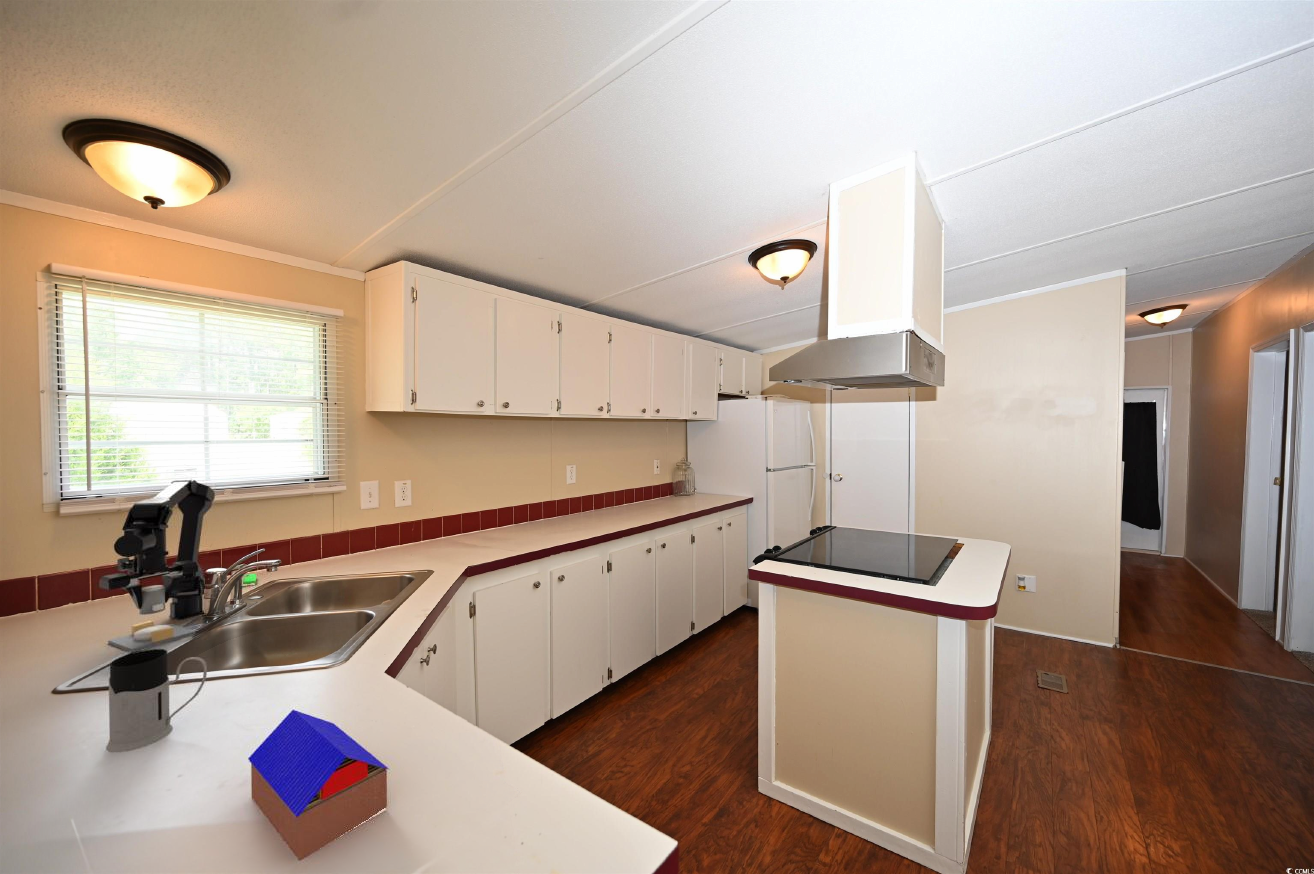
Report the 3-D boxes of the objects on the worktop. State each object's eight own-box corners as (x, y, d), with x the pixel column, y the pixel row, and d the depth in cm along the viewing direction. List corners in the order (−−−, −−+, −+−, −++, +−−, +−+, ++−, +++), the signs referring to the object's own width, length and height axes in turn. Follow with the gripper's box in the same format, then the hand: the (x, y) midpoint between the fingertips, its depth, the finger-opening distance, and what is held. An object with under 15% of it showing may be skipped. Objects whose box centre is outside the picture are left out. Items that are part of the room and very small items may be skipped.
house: (333, 761, 89) (333, 694, 89) (390, 813, 77) (389, 736, 77) (248, 801, 80) (247, 726, 79) (297, 867, 68) (296, 779, 67)
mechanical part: (255, 585, 187) (255, 564, 187) (234, 589, 184) (234, 566, 184) (256, 578, 197) (256, 557, 197) (236, 581, 193) (236, 559, 193)
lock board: (170, 626, 148) (170, 614, 148) (195, 634, 143) (195, 621, 143) (108, 644, 136) (107, 631, 136) (132, 653, 131) (132, 639, 131)
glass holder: (123, 730, 98) (122, 651, 97) (216, 715, 103) (215, 640, 103) (93, 757, 90) (92, 672, 89) (196, 739, 95) (195, 658, 95)
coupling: (171, 610, 140) (170, 586, 140) (147, 616, 136) (146, 592, 136) (157, 606, 143) (157, 583, 143) (133, 612, 139) (133, 588, 139)
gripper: (179, 538, 151) (179, 591, 151) (88, 552, 134) (90, 612, 134) (199, 542, 146) (200, 596, 147) (109, 557, 129) (110, 619, 130)
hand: (152, 605), depth 140 cm, fingers closed on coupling, 5 cm apart
